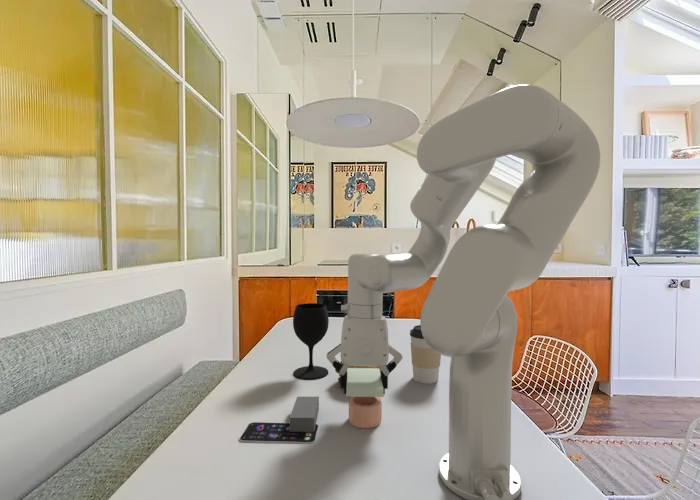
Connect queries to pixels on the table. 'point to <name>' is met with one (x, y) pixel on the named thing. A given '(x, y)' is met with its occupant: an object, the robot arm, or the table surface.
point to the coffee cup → (423, 358)
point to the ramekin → (365, 412)
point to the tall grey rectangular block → (304, 414)
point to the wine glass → (310, 335)
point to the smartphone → (276, 434)
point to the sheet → (364, 382)
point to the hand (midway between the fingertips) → (363, 390)
